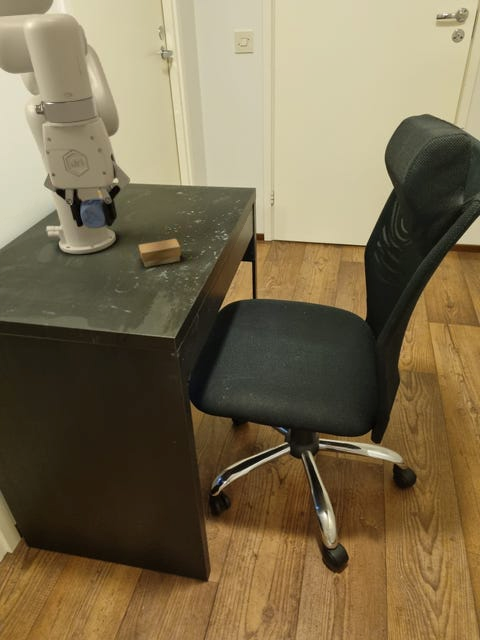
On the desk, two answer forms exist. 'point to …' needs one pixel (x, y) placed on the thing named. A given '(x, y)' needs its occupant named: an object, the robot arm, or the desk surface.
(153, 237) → the desk surface
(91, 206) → the decorative dice
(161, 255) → the tan rectangular brick
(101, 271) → the desk surface
